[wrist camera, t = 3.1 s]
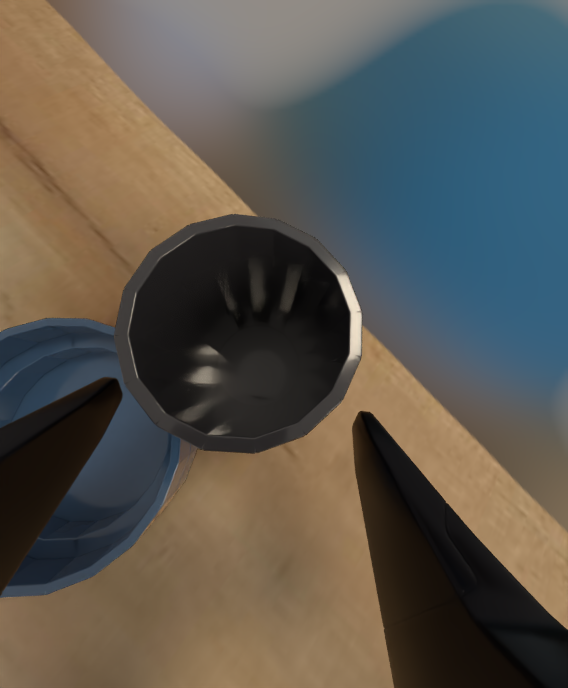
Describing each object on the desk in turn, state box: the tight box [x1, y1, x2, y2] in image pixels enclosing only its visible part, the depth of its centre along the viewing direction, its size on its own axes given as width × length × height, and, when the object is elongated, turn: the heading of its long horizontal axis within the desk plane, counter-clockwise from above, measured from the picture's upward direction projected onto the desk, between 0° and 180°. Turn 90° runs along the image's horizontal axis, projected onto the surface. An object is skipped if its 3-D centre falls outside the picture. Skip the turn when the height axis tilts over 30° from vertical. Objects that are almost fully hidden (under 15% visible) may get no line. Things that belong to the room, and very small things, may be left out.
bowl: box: [0, 318, 198, 598], centre depth 15 cm, size 14×14×4 cm
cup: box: [114, 214, 362, 454], centre depth 13 cm, size 7×7×12 cm
